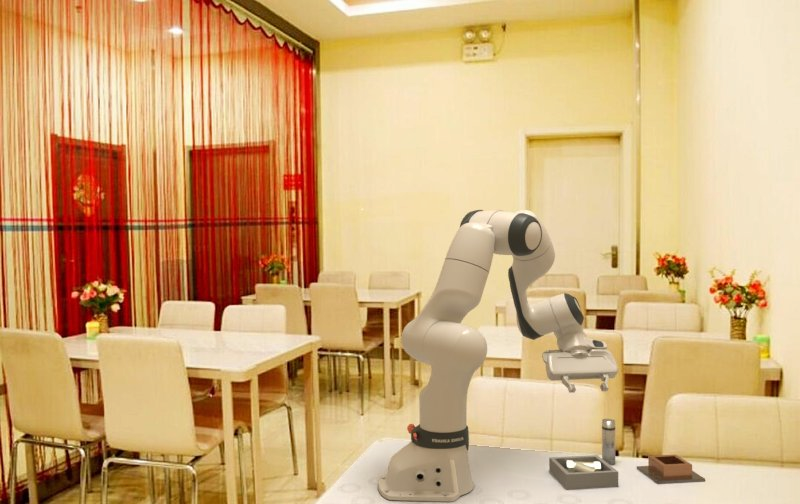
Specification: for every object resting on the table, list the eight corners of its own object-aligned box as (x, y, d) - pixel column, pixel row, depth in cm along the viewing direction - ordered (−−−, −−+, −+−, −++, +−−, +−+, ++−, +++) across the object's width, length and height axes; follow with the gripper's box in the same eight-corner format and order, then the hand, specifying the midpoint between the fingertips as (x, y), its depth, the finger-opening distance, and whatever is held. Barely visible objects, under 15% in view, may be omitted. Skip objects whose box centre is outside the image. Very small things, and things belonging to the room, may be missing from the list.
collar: (657, 484, 149) (657, 468, 149) (636, 468, 159) (636, 454, 159) (705, 481, 150) (705, 466, 150) (681, 466, 160) (681, 452, 160)
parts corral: (566, 489, 146) (566, 474, 146) (549, 471, 157) (549, 457, 157) (618, 486, 147) (618, 471, 147) (597, 468, 159) (597, 455, 159)
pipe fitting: (603, 486, 149) (599, 474, 156) (603, 470, 149) (599, 458, 155) (568, 485, 150) (565, 472, 157) (568, 469, 150) (565, 457, 157)
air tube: (605, 465, 161) (605, 422, 161) (599, 460, 164) (599, 418, 164) (617, 464, 162) (617, 422, 161) (612, 460, 165) (611, 418, 165)
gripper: (543, 344, 181) (555, 386, 171) (611, 342, 183) (627, 383, 174) (538, 356, 185) (549, 398, 176) (604, 354, 188) (620, 395, 178)
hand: (589, 390), depth 175 cm, fingers open, 8 cm apart
